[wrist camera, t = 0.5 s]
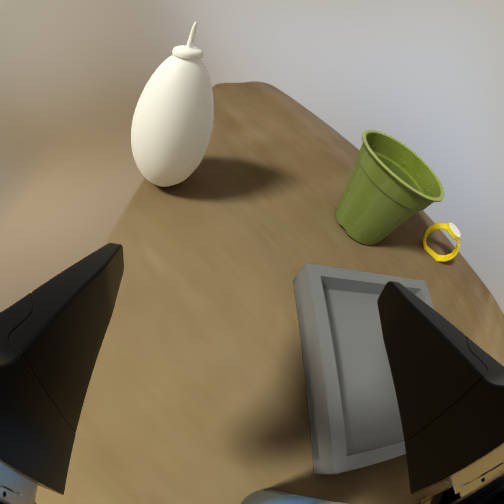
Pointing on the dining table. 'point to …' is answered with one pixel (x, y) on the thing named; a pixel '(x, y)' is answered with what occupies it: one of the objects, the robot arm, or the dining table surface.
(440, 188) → the plant pot
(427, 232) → the watch
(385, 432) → the tray
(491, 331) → the dining table surface
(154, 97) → the white vase
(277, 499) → the cylinder
